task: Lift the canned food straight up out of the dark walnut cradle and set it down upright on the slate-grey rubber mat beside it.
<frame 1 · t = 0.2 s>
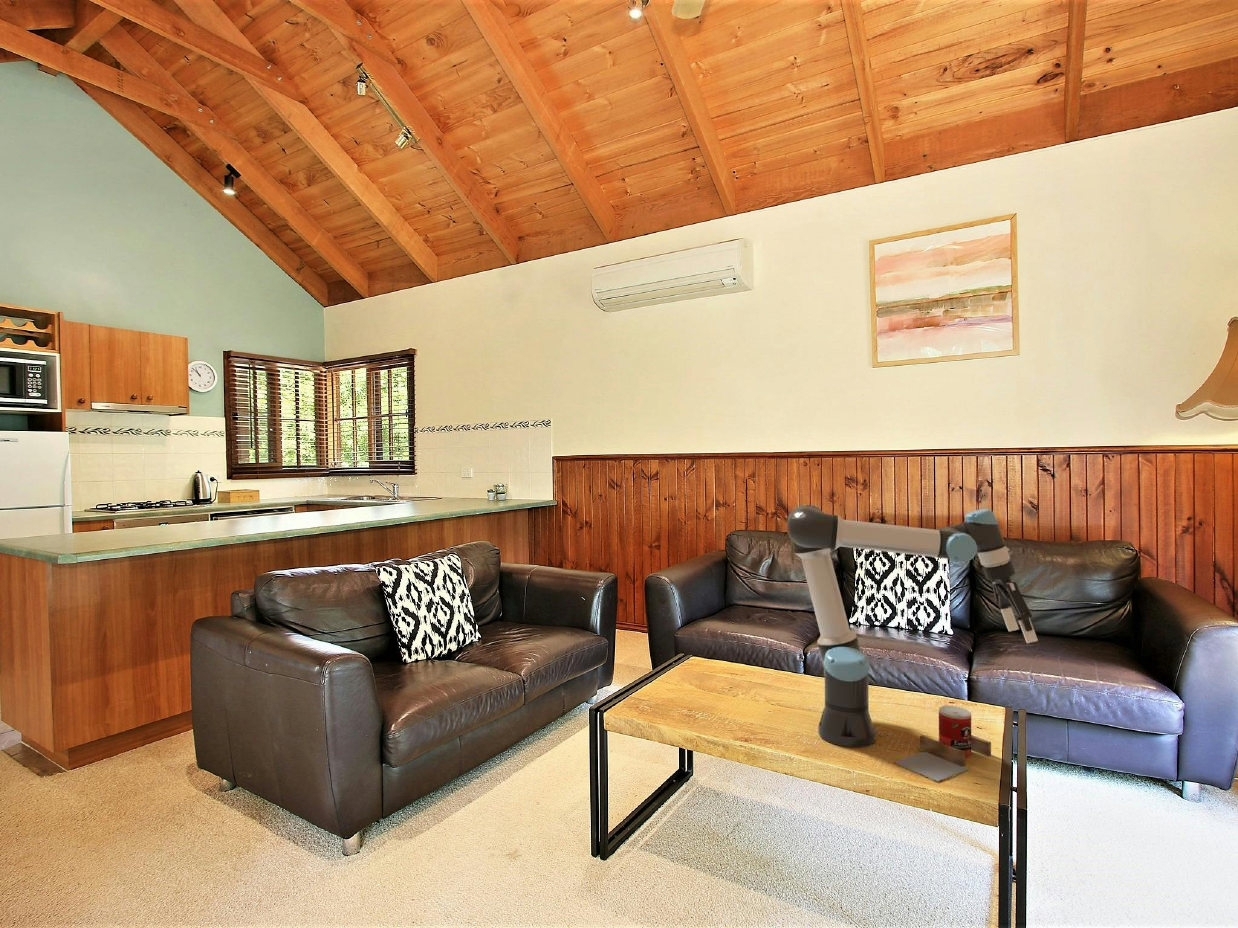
hand: (1022, 635, 190), 28 cm above the table, tool tilted 20°, fingers open, 13 cm apart
mat: (930, 766, 170), on the table
canned food: (955, 753, 178), on the table
cradle: (955, 752, 178), on the table
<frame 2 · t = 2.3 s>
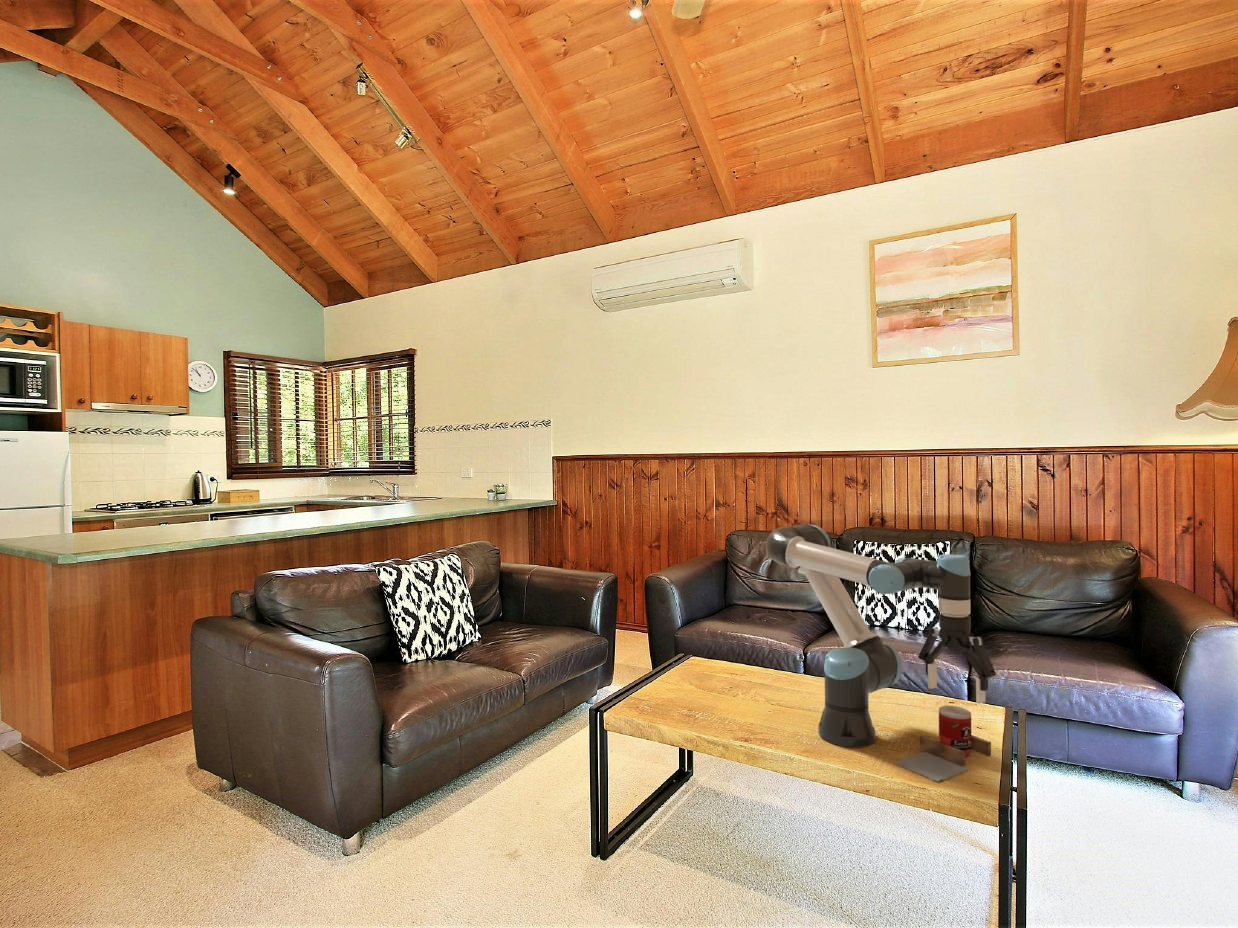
hand: (955, 694, 178), 15 cm above the table, tool pointing down, fingers open, 13 cm apart
nothing on the table moved.
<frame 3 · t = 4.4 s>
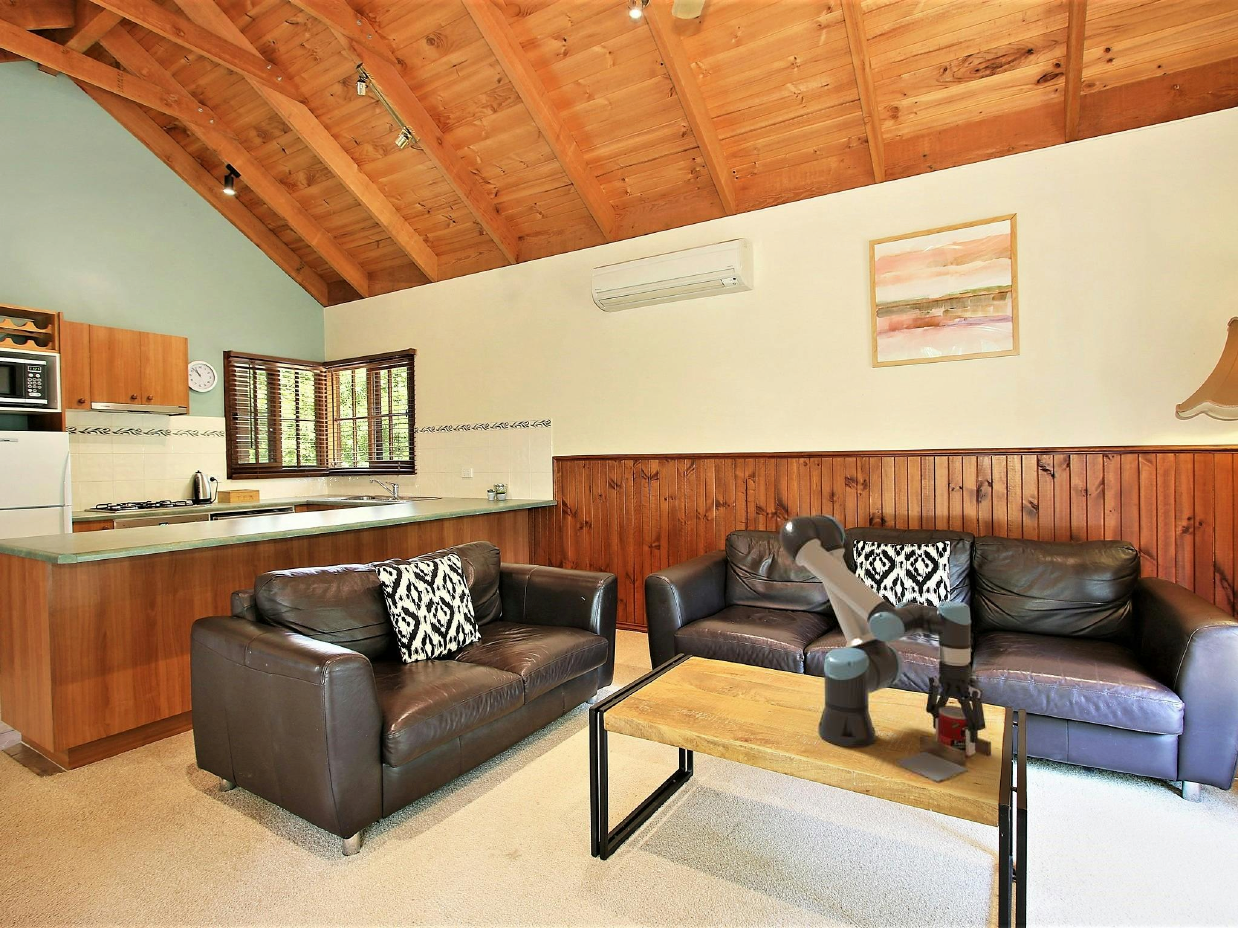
hand: (954, 747, 178), 1 cm above the table, tool pointing down, fingers closed on canned food, 8 cm apart
canned food: (955, 753, 178), on the table, touching gripper
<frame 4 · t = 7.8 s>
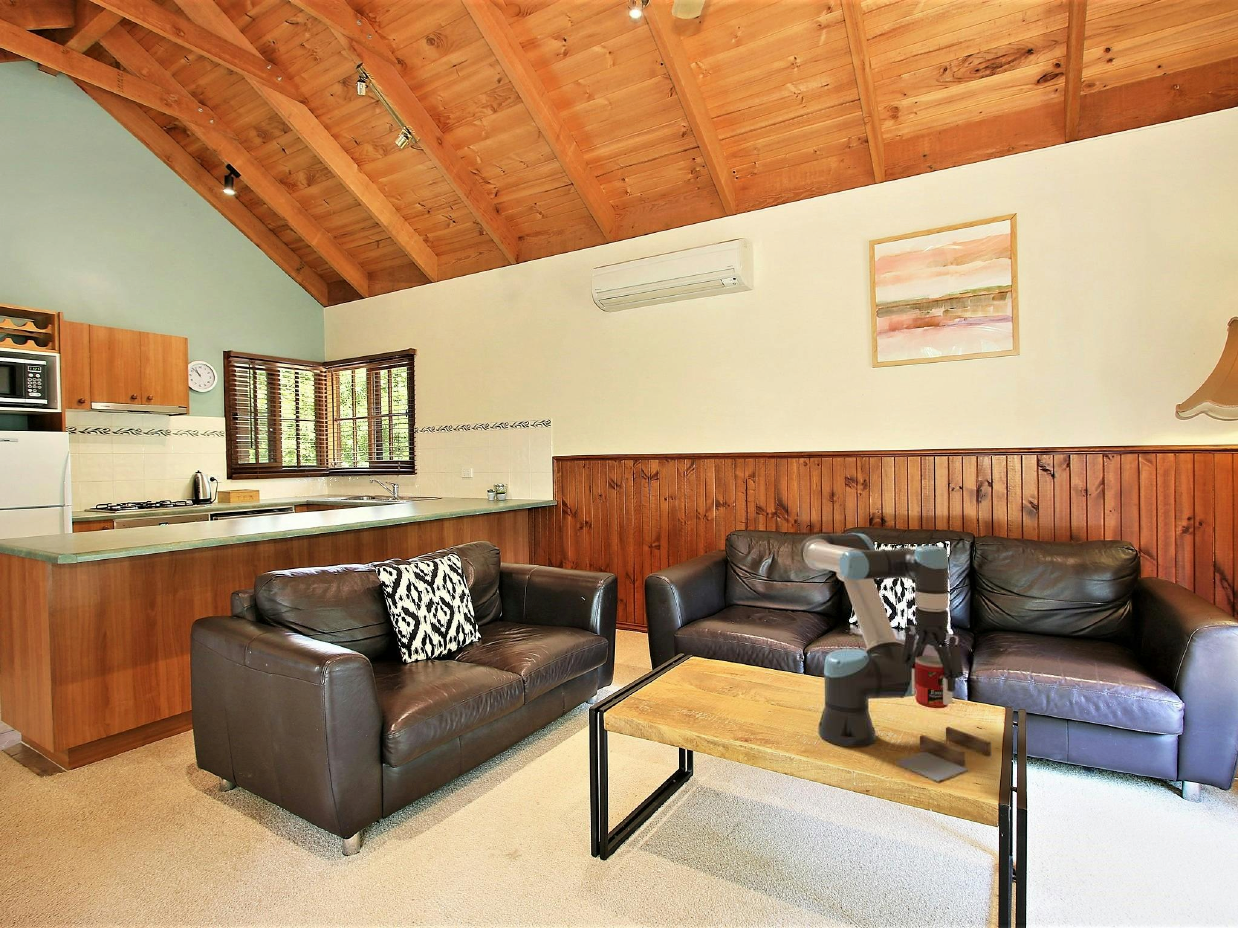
hand: (931, 698, 170), 17 cm above the table, tool pointing down, fingers closed on canned food, 8 cm apart
canned food: (931, 703, 170), point 16 cm above the table, touching gripper
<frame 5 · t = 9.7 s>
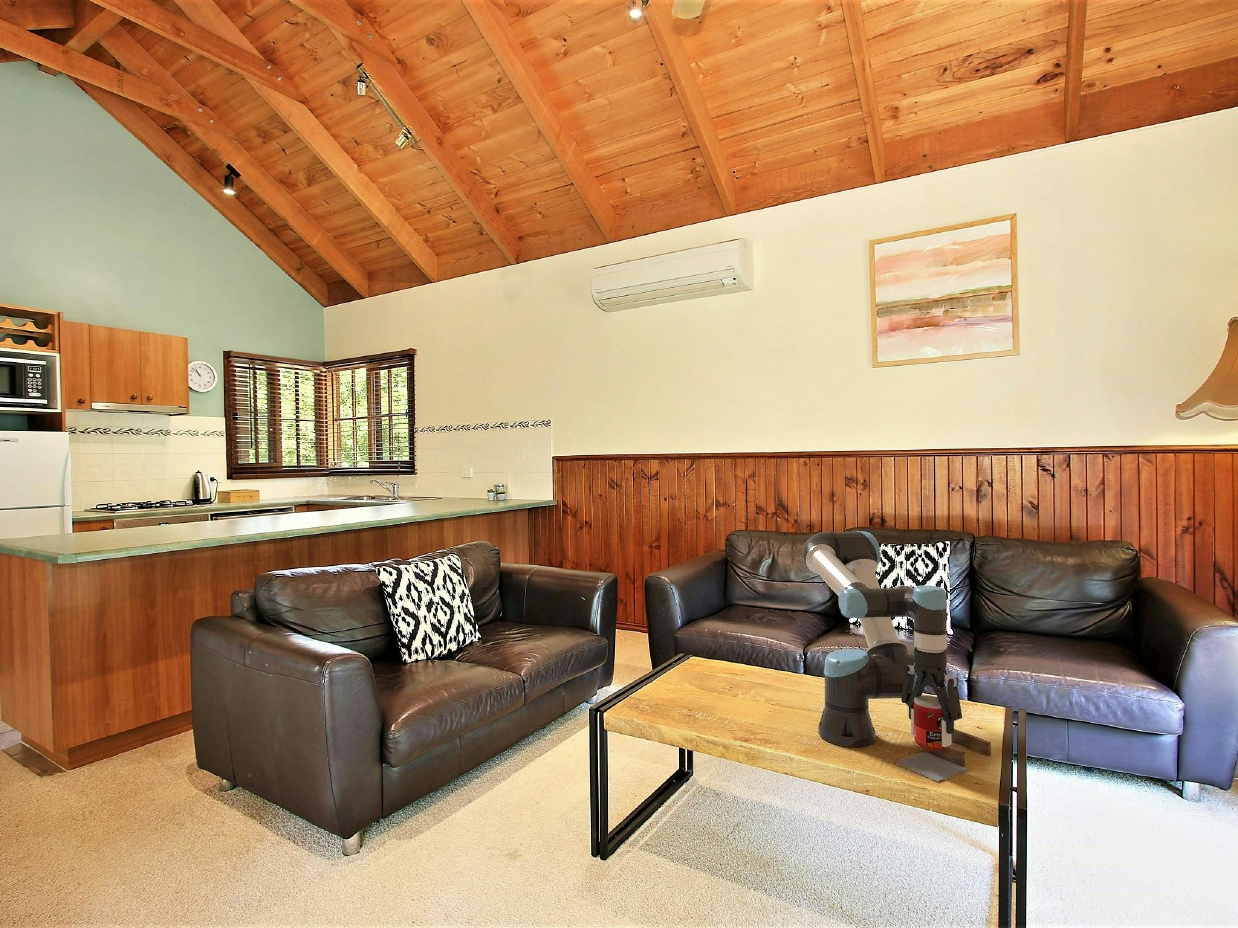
hand: (930, 739, 170), 7 cm above the table, tool pointing down, fingers closed on canned food, 8 cm apart
canned food: (931, 744, 170), point 6 cm above the table, touching gripper
when the fingers open (3 cm above the table, at t = 11.4 s): canned food drops 1 cm, resting on mat.
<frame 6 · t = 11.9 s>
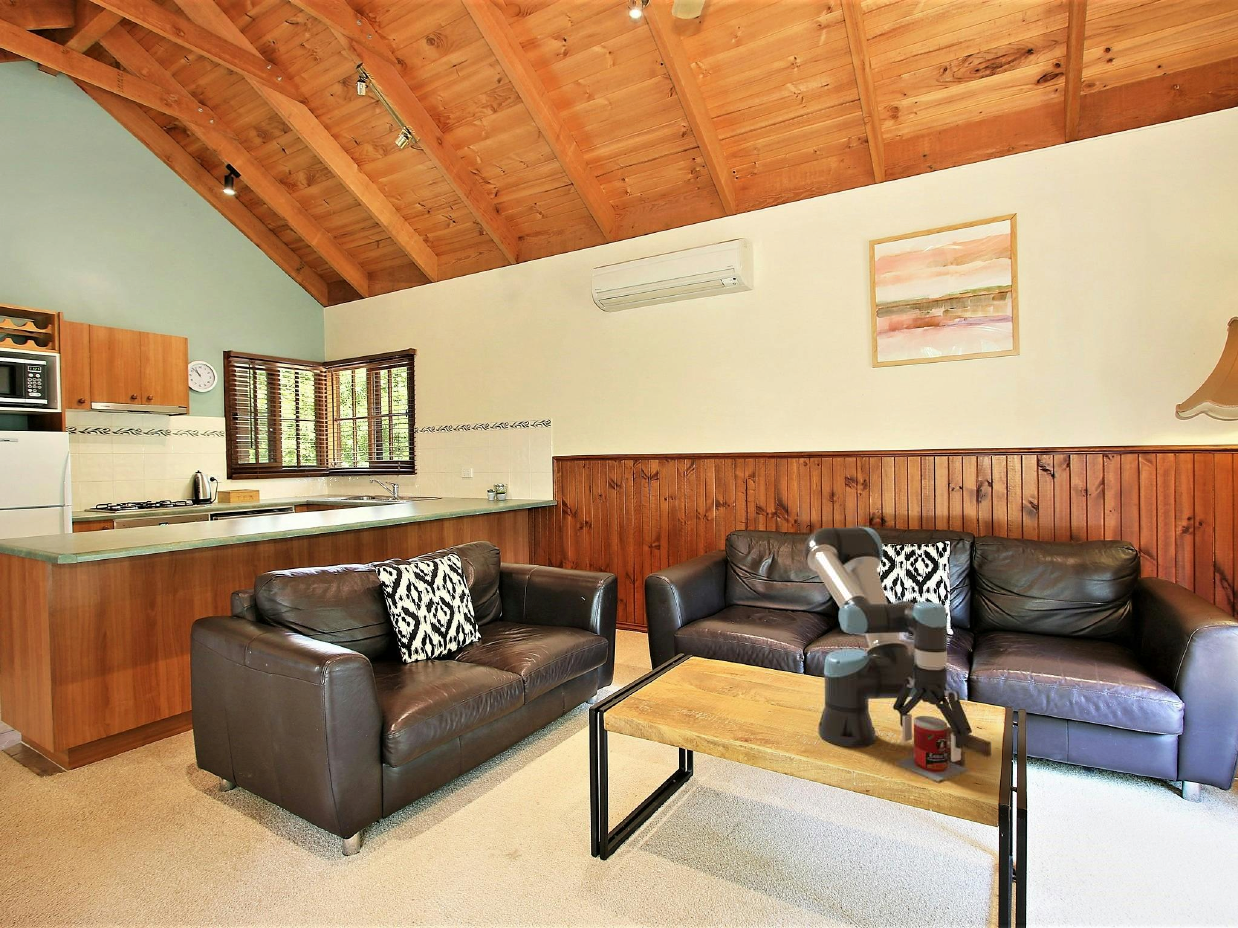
hand: (930, 749, 170), 4 cm above the table, tool pointing down, fingers open, 13 cm apart
canned food: (930, 765, 170), resting on mat
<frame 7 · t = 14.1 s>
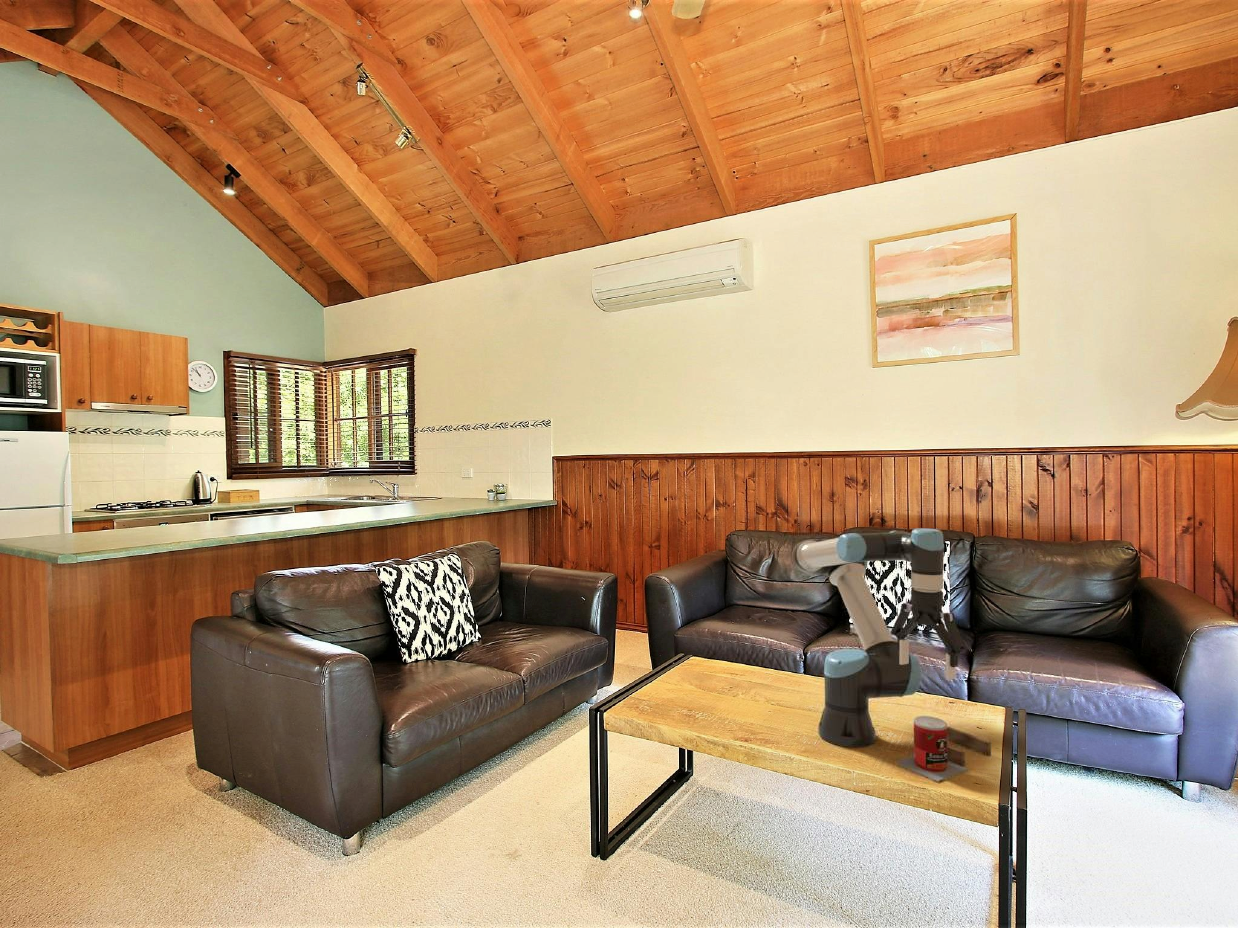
hand: (926, 671, 174), 23 cm above the table, tool pointing down, fingers open, 13 cm apart
nothing on the table moved.
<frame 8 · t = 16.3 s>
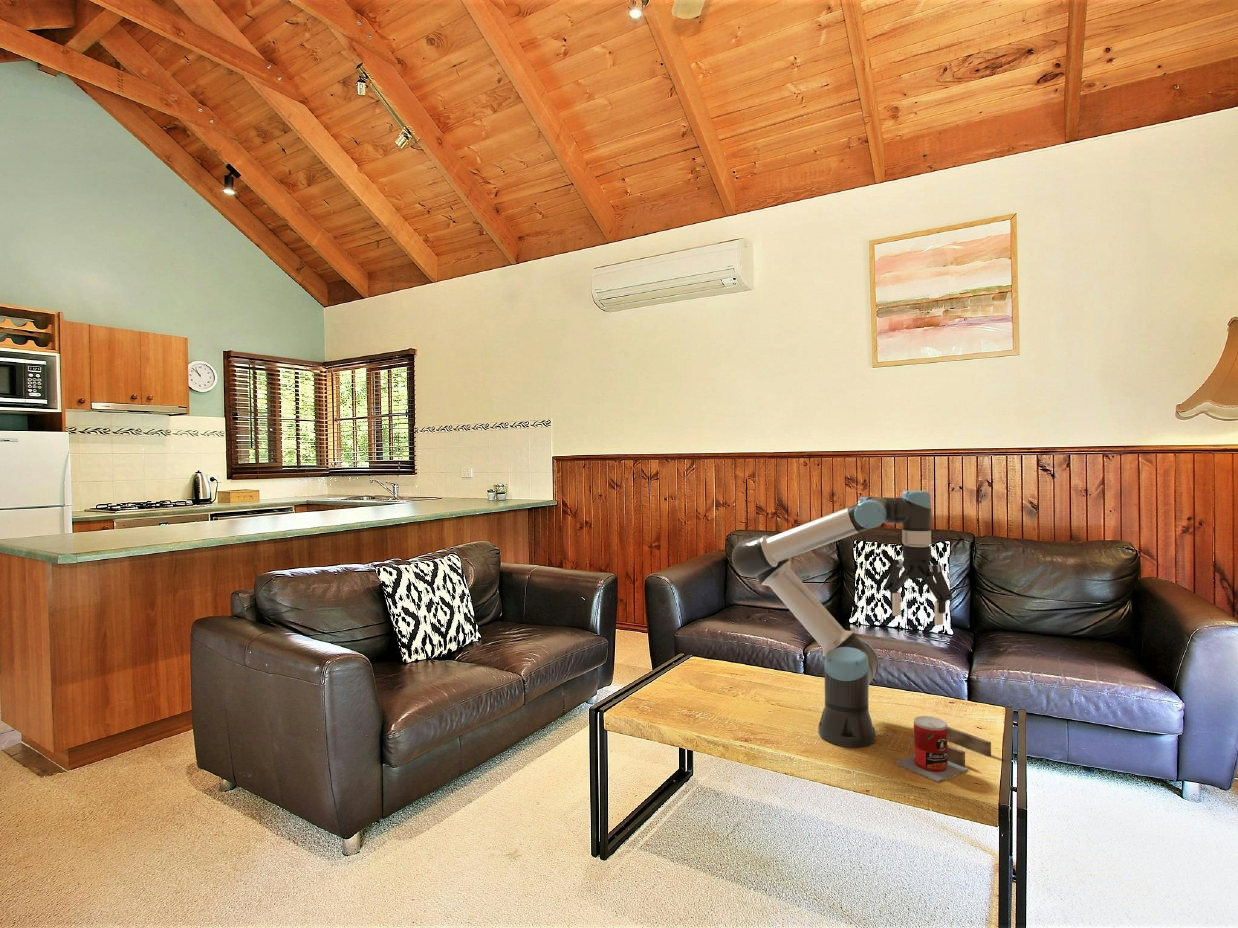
hand: (917, 619, 192), 32 cm above the table, tool pointing down, fingers open, 13 cm apart
nothing on the table moved.
at the end: canned food inside the target area on the mat (0.1 cm from its centre), point 0.2 cm above the mat's base; canned food tilted 0°; the gripper is holding nothing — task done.
